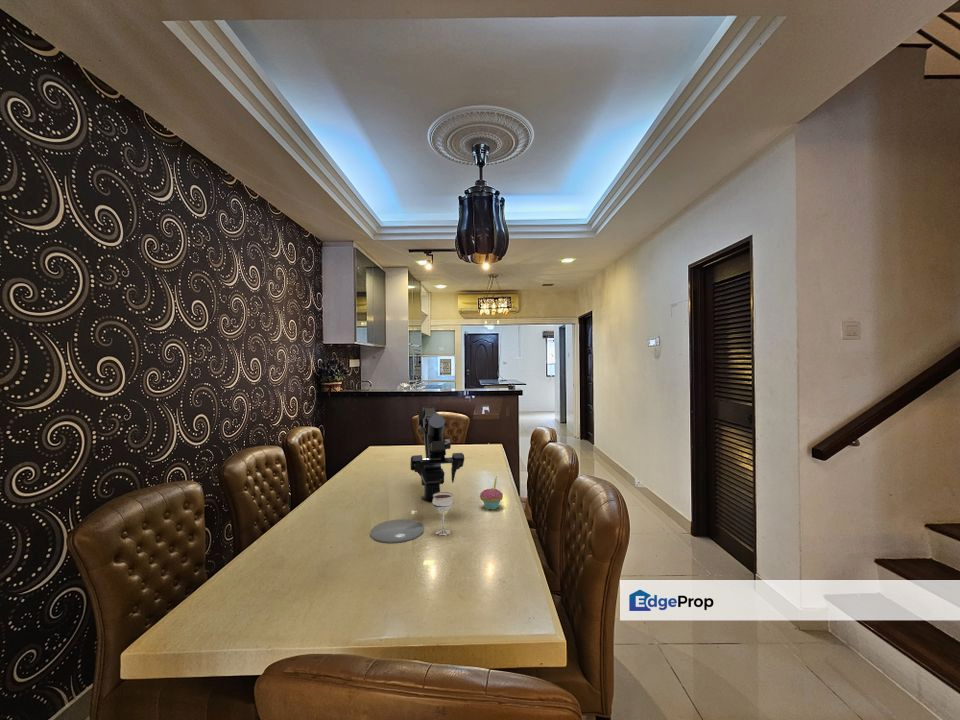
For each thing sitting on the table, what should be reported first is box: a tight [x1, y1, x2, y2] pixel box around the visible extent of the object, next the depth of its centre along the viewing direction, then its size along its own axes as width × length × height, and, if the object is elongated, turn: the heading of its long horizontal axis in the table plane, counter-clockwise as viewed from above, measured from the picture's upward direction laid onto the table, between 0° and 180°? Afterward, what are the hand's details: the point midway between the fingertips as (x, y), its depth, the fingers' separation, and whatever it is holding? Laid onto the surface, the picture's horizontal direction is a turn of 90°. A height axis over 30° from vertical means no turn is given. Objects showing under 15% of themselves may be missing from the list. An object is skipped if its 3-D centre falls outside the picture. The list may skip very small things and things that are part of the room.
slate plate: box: [370, 519, 425, 544], centre depth 135 cm, size 17×17×1 cm
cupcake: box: [479, 476, 504, 510], centre depth 156 cm, size 9×8×12 cm
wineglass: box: [431, 491, 454, 536], centre depth 134 cm, size 7×7×12 cm
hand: (439, 483), depth 142 cm, fingers open, 9 cm apart
